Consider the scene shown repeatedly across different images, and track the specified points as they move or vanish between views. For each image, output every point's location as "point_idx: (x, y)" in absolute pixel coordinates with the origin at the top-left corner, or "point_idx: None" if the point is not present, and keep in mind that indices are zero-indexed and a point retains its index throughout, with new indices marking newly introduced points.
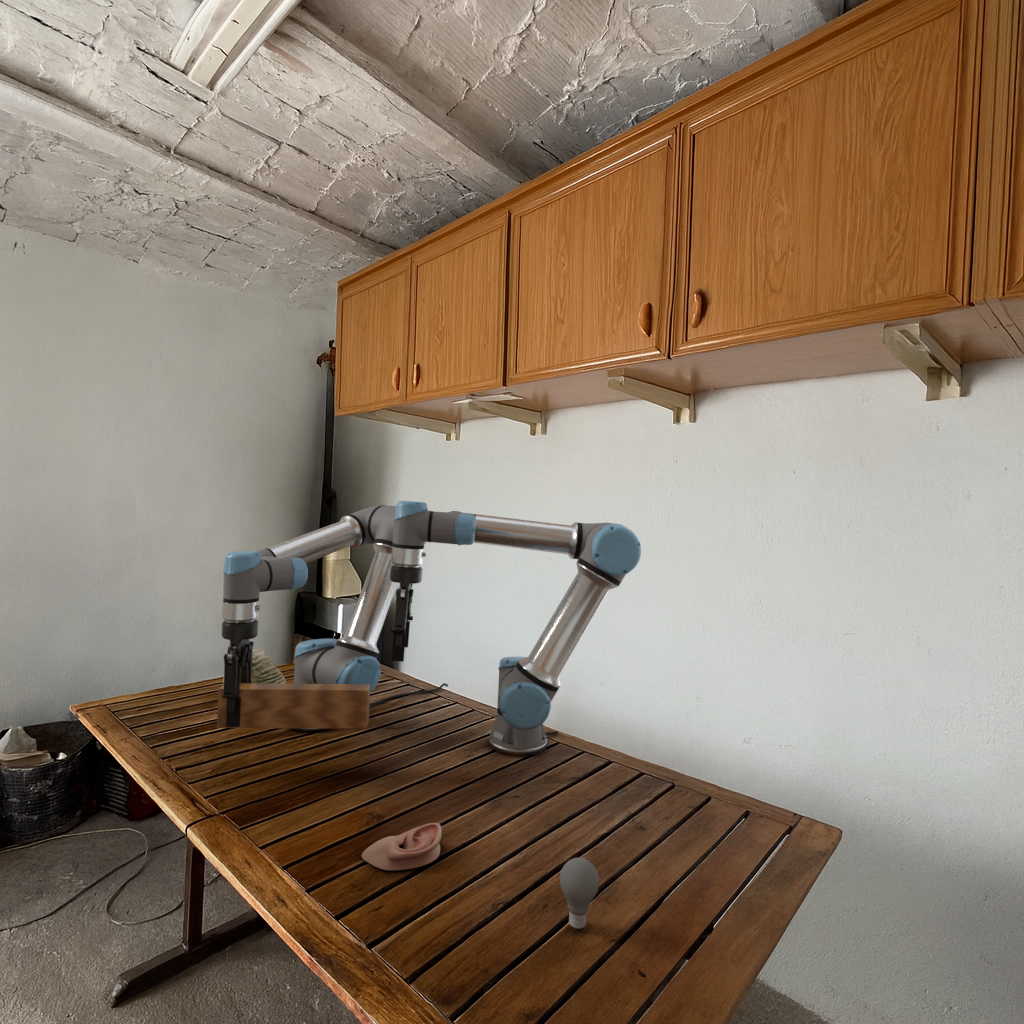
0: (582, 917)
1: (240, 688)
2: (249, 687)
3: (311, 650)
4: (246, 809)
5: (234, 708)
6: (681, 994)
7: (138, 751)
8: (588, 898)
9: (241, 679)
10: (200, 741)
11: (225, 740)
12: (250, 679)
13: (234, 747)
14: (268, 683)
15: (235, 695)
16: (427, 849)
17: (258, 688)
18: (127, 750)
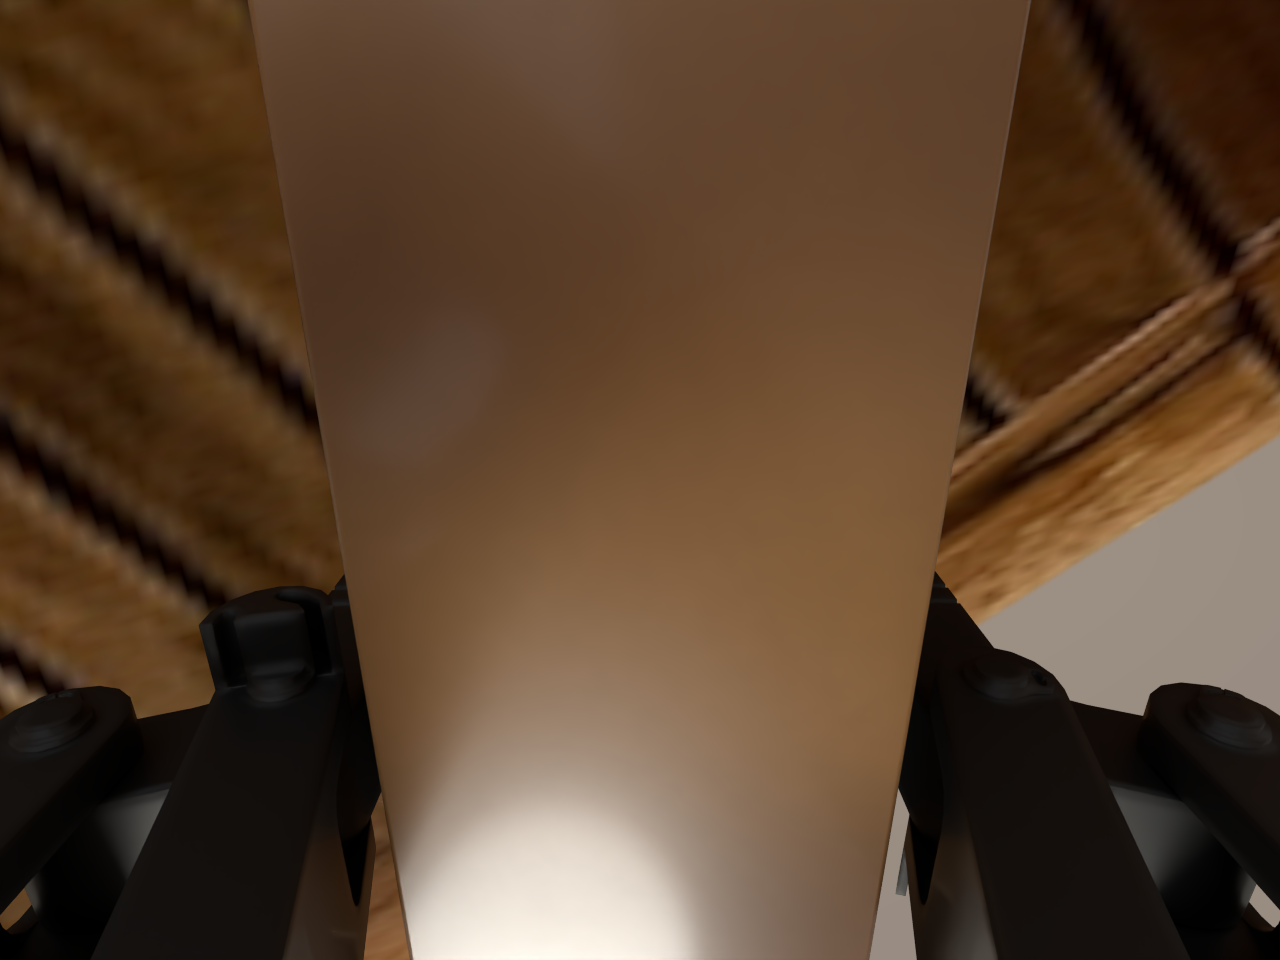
0: None
1: (857, 768)
2: (776, 598)
3: None
4: (1226, 116)
5: (950, 591)
6: None
7: (395, 910)
8: None
9: (331, 940)
10: (205, 703)
11: (153, 578)
12: (27, 757)
13: (254, 491)
14: (287, 136)
15: (1255, 727)
16: None
17: (892, 323)
18: (389, 951)
